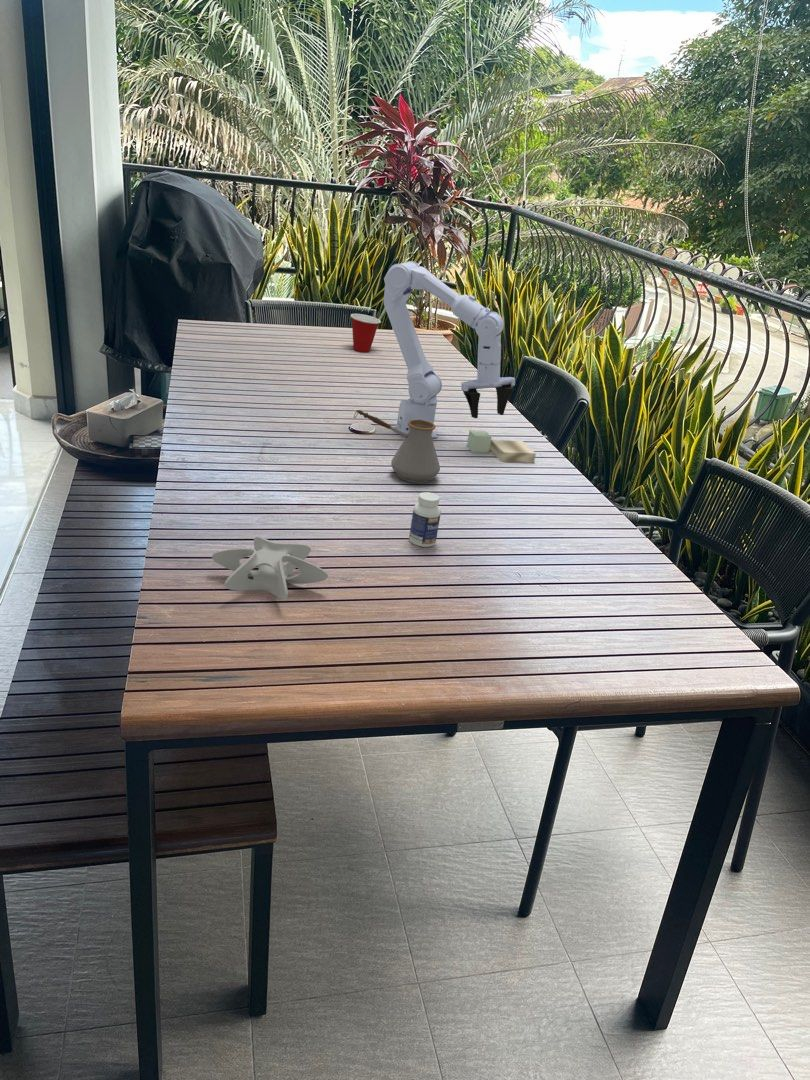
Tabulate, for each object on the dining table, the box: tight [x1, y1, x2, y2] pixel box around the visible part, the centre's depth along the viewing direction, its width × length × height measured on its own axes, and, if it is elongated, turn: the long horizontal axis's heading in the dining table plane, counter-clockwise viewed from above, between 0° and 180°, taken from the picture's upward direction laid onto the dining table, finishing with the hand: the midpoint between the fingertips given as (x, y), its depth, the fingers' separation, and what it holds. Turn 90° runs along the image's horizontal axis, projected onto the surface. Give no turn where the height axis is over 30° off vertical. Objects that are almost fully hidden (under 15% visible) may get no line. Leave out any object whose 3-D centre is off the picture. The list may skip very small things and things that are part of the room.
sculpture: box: [211, 536, 329, 600], centre depth 141 cm, size 18×20×6 cm
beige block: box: [489, 439, 537, 464], centre depth 217 cm, size 9×9×3 cm
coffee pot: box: [353, 409, 441, 484], centre depth 191 cm, size 21×12×15 cm, turn 99°
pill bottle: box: [408, 491, 442, 548], centre depth 163 cm, size 5×5×10 cm
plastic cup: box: [350, 313, 382, 353], centre depth 296 cm, size 11×11×12 cm
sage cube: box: [466, 429, 492, 454], centre depth 218 cm, size 4×4×4 cm
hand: (487, 415), depth 216 cm, fingers open, 7 cm apart
